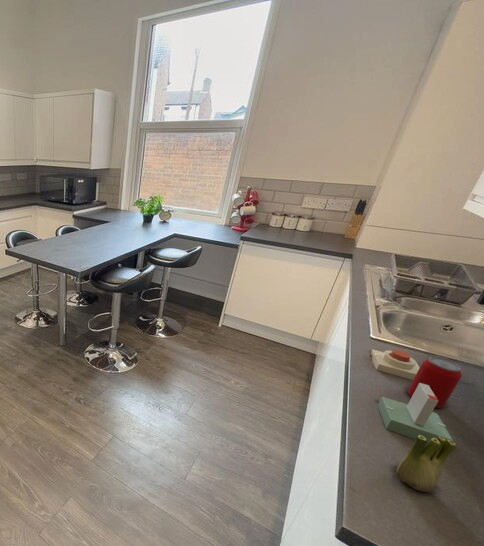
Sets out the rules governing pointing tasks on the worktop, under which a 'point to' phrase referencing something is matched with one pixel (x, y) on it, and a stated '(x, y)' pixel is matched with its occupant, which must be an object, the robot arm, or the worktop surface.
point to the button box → (394, 365)
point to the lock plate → (410, 421)
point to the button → (400, 355)
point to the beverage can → (437, 378)
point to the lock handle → (422, 404)
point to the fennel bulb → (424, 463)
